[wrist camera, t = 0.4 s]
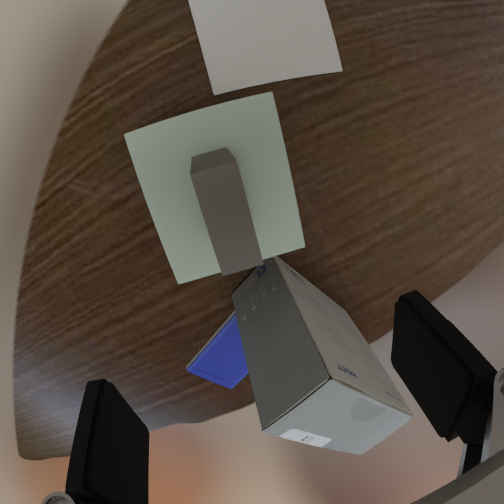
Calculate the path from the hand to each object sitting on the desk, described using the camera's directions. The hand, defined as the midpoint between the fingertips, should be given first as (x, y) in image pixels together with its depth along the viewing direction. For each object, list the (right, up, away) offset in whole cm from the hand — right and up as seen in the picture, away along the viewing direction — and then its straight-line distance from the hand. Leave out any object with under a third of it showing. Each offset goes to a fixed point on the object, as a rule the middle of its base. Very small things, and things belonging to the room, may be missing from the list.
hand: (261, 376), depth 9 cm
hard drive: (-3, -10, +35) cm, 36 cm away
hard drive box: (+5, -3, +33) cm, 33 cm away
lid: (-3, +9, +18) cm, 21 cm away
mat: (+1, +27, +18) cm, 32 cm away
